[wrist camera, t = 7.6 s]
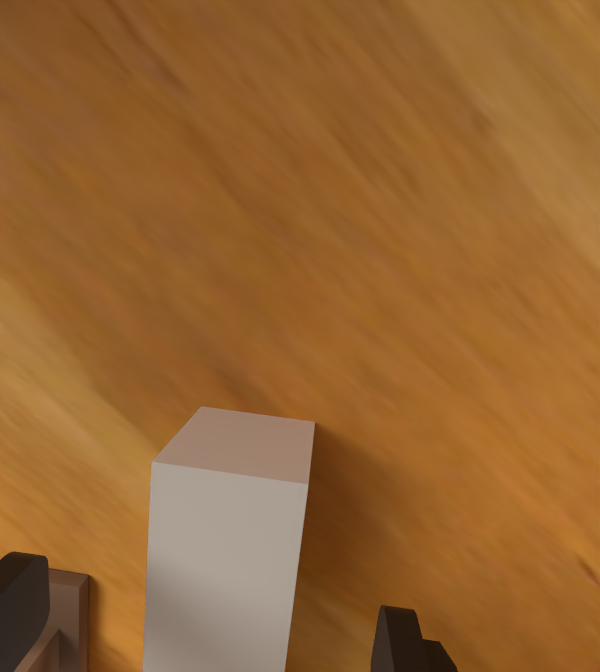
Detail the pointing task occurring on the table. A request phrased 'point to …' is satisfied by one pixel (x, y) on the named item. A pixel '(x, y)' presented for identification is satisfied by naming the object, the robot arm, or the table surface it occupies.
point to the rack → (62, 627)
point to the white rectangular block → (225, 542)
